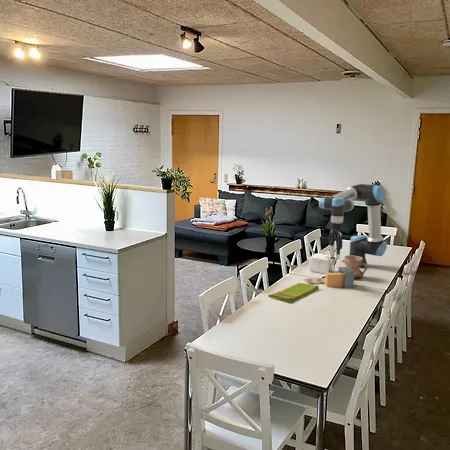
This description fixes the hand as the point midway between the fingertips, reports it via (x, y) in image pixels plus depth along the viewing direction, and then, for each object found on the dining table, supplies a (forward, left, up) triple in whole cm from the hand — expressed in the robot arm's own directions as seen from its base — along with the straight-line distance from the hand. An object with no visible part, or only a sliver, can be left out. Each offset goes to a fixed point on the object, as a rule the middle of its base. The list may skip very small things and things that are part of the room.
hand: (334, 257), depth 297 cm
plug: (-5, -1, -19) cm, 20 cm away
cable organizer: (-6, -33, -19) cm, 39 cm away
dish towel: (+30, +10, -20) cm, 38 cm away
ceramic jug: (-23, -17, -19) cm, 35 cm away
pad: (+4, -10, -19) cm, 22 cm away
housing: (-9, 0, -19) cm, 21 cm away
